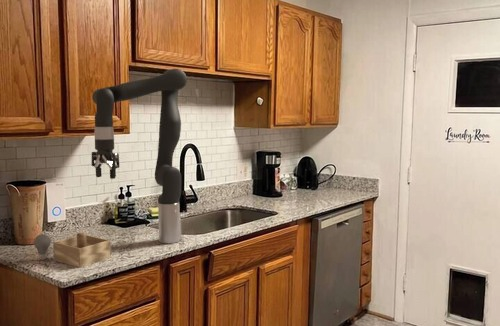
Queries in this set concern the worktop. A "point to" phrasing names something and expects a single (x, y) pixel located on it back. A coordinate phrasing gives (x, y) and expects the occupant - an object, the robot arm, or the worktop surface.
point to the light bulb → (42, 245)
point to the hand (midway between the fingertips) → (105, 177)
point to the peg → (81, 240)
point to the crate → (81, 251)
